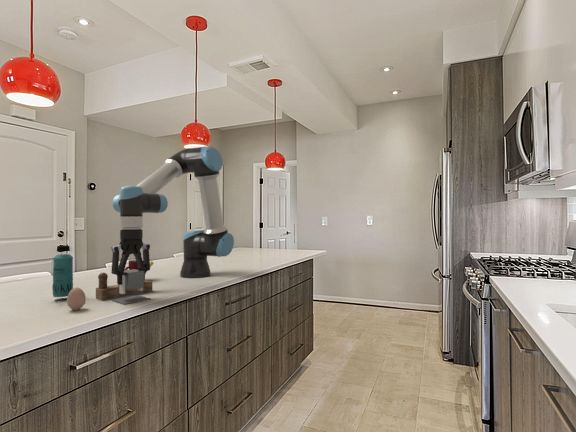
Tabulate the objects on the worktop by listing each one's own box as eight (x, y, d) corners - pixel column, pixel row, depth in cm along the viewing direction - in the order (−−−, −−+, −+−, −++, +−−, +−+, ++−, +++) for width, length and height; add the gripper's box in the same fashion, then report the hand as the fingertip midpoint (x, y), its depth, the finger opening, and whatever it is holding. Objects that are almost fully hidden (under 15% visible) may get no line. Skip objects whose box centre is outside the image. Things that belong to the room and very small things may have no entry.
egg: (86, 310, 117) (86, 288, 117) (66, 312, 114) (66, 289, 114) (85, 307, 122) (85, 285, 122) (66, 309, 119) (66, 287, 119)
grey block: (144, 287, 131) (144, 270, 131) (128, 289, 126) (128, 272, 126) (134, 285, 135) (134, 269, 135) (118, 287, 131) (118, 271, 131)
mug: (131, 284, 162) (131, 262, 162) (120, 282, 166) (119, 261, 166) (150, 280, 171) (150, 259, 171) (139, 279, 175) (139, 258, 175)
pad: (138, 296, 138) (138, 295, 138) (150, 299, 132) (150, 298, 132) (111, 301, 130) (111, 299, 130) (124, 304, 124) (124, 303, 124)
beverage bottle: (54, 298, 134) (54, 245, 134) (74, 296, 137) (74, 244, 137) (50, 302, 128) (50, 246, 128) (72, 300, 131) (72, 245, 131)
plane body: (145, 289, 149) (145, 266, 149) (152, 291, 146) (152, 267, 146) (95, 298, 134) (95, 272, 134) (101, 300, 130) (101, 273, 130)
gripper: (150, 227, 141) (149, 286, 141) (99, 229, 126) (99, 294, 126) (160, 228, 136) (160, 289, 136) (109, 229, 121) (109, 298, 121)
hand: (131, 291), depth 131 cm, fingers closed on grey block, 6 cm apart
